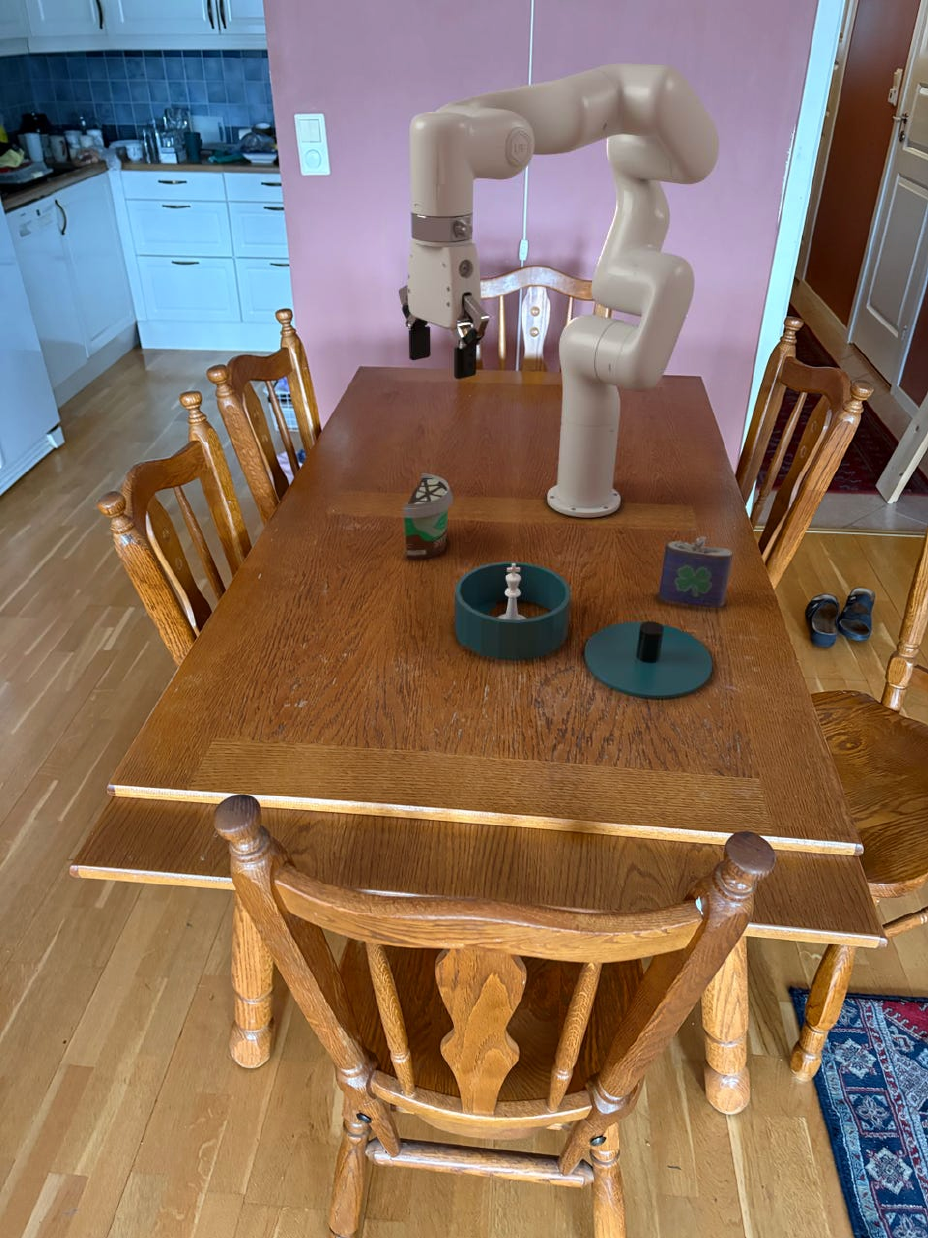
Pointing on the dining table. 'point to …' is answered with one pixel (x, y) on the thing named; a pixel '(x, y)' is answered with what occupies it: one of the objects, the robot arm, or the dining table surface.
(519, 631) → the pot
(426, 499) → the food container
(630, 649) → the pot lid
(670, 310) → the robot arm
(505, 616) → the chess piece
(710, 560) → the flask
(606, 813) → the dining table surface
